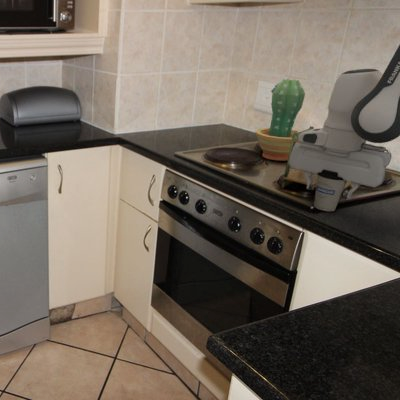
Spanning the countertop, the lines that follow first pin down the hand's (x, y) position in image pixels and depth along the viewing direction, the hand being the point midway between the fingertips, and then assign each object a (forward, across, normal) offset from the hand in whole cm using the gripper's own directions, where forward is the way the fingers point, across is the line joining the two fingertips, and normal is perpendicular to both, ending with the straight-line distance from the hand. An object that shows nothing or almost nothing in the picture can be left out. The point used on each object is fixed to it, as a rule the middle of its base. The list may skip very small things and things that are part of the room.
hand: (327, 193), depth 118 cm
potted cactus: (+4, +26, -34) cm, 43 cm away
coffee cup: (+4, 0, 0) cm, 4 cm away
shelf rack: (+4, +6, -12) cm, 14 cm away
